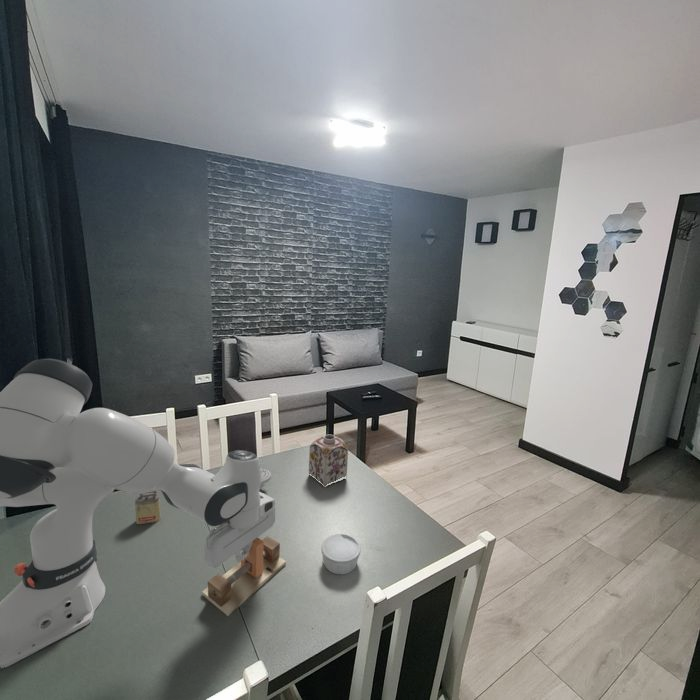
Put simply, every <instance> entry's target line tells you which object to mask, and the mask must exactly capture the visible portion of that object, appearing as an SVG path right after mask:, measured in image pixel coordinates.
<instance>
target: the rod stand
mask: <svg viewBox="0 0 700 700" xmlns="http://www.w3.org/2000/svg"><path fill="white" fill-rule="evenodd" d="M262 541H264V548H263V573H262V574H261V575H259V576H258V577H257V578H255V577H254V576H252V575H251V574H249V573H248V572H247V571H248V570H249V569H251V568H252V563H250V562H249V561H248V562H247V563H246V564H245V565H243V566H242V567H241V562H240V563H239V562H237V564H235V565H234V566H233V567H231V569H229V570H228V571H226V572H225V573H224V574H223V575H221V573H216V574H215V575H214V576H212V577H211V578H210V579H209V580H208V581H207V587H206V588H205V589H203V590H201V595H202V596H203V597H204V598H206V600H208V602H210V603H211V604H213V606H215V607H216V608H217V609H218V610H220V611H221V612H222V613H224V614H225V616H227V617H229V616H230V615H231V614H232V613H234V612H235V610H237V609H238V608H239V607H240V606H241V605H242V604H244V603H245V602H246V601H247V600H248V599H249V598H250V597H251V596H253V594H254V593H256V592H257V591H258V590H259V589H261V587H263V586H264V585H265V584H266V583H267V582H268V581H269V580H270V579H271V578H272V577H273V576H274V575H276V574H277V573H278V572H279V571H280V570H281V569H282V568H283V567H284V566H286V564H287V561H286V560H285V559H283V558H282V557H281V555H280V550H281V549H280V548H281V544H280V543H279V542H278V541H277V540H275V539H274V538H271V537H270V536H268V535H266V536H265V537H264V538H263V539H262Z"/></svg>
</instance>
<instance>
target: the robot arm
mask: <svg viewBox="0 0 700 700" xmlns="http://www.w3.org/2000/svg"><path fill="white" fill-rule="evenodd" d="M92 389H93V382H92V380H91V379H90V376H88V374H87V373H86V372H85V371H84V370H82V369H81V368H79V367H77V366H76V365H74V364H72V363H69V362H67V361H64V360H60V359H57V358H56V359H55V358H39V359H35V360H32V361H31V362H29V363H27V364H26V365H25V366H23V367H22V368H21V369H20V370H18V371H17V373H15V374H14V376H13V380H11V381H10V382H9V383H8V384H7V385H6V386H5V387H4V388H3V389H2V390H1V391H0V507H10V508H12V507H13V508H19V507H20V508H21V507H30V506H41V505H55V507H56V508H55V509H53V510H51V511H50V512H48V513H46V514H45V515H44V516H42V517H41V518H40V519H38V520H37V522H36V523H35V524H34V525H33V527H32V529H31V531H30V534H29V540H30V548H31V550H30V551H31V555H32V558H31V559H32V560H31V562H30V564H29V565H28V566H27V564H26V563H24V562H20V563H18V564H17V565H16V566H15V567H14V569H13V571H14V572H15V574H16V575H17V577H22V580H21V581H20V582H19V583H18V584H17V586H15V587H14V588H13V589H12V590H11V591H10V592H9V593H8V594H7V595H6V596H5V597H4V598H3V599H2V600H1V601H0V667H1V668H0V669H5V668H8V667H10V666H11V665H14V664H16V663H18V662H19V661H21V660H22V659H25V658H27V657H29V656H31V655H33V654H35V653H36V652H38V651H40V650H41V649H42V650H43V649H44V648H46V647H47V646H49V645H52V644H54V643H56V642H57V641H59V640H61V639H63V638H65V637H66V636H69V635H71V634H72V633H75V632H76V631H78V630H80V629H82V628H84V627H85V626H87V625H90V623H91V622H92V620H93V618H94V616H95V615H94V614H95V612H96V610H97V608H98V607H99V605H100V604H101V603H102V601H103V600H104V597H105V594H106V589H107V588H106V585H105V583H104V581H103V580H102V578H101V576H100V573H99V569H98V566H97V561H98V550H97V545H96V541H95V539H94V537H93V536H94V535H93V516H94V513H95V510H96V508H97V507H98V505H99V504H100V503H101V502H102V501H103V500H104V499H105V498H106V497H108V496H110V495H111V494H112V493H113V492H114V491H115V490H117V491H121V492H125V493H130V494H138V495H140V494H143V495H144V494H145V493H146V492H152V490H153V491H154V490H155V489H157V490H160V492H161V493H162V495H163V497H164V499H165V500H166V502H167V503H168V504H169V505H170V506H171V507H174V508H177V509H179V510H181V511H183V512H184V513H187V514H188V515H190V516H192V517H193V518H195V519H197V520H198V521H200V522H202V523H204V524H205V525H208V526H210V527H214V528H213V529H211V530H210V533H209V534H208V536H207V537H206V539H205V548H204V562H205V563H206V564H207V565H208V566H210V567H212V568H218V567H220V565H222V564H223V563H224V562H226V561H228V560H229V559H230V558H231V557H234V555H235V560H236V561H237V563H240V562H242V561H243V560H244V559H245V558H247V557H248V556H249V550H250V548H251V546H252V543H253V540H255V539H256V538H259V537H260V536H261V535H263V534H264V533H265V532H267V531H268V530H270V529H272V528H273V526H274V525H275V522H276V508H275V506H276V500H275V498H273V497H271V496H269V494H266V493H263V492H261V491H259V489H260V485H261V469H262V468H261V463H260V462H261V461H260V459H259V457H258V454H257V455H256V454H255V453H254V452H251V451H248V450H243V449H237V450H233V451H229V452H228V453H227V455H226V458H225V462H224V463H223V464H222V466H221V468H220V470H218V472H217V473H215V474H214V473H211V472H209V471H207V470H206V469H204V468H202V467H200V466H198V465H197V464H194V463H183V464H181V463H177V462H176V461H175V449H174V447H173V446H172V444H170V442H169V441H168V440H167V439H166V438H165V437H164V436H163V435H161V434H160V433H159V432H158V431H156V430H155V429H153V428H151V427H150V426H148V425H147V424H145V423H143V422H141V421H140V420H137V419H135V418H133V417H130V416H129V415H127V414H124V413H121V412H119V411H116V410H113V409H110V408H106V407H93V408H90V409H86V410H84V411H82V409H83V406H84V405H85V404H87V402H88V400H89V398H90V396H91V392H92ZM242 548H243V549H242ZM4 667H5V668H4Z"/></svg>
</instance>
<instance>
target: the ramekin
mask: <svg viewBox="0 0 700 700" xmlns="http://www.w3.org/2000/svg"><path fill="white" fill-rule="evenodd" d="M358 541H359V540H357V539H356V538H355V537H353V536H351V535H349V534H344V533H335V534H331V535H329V536H327V537H326V538H324V540H323V541H322V544H321V554H322V561H323V565H324V566H325V568H326V570H328V571H329V572H330V573H333V574H336V575H346V574H349V573H350V572H352V571H353V570H354V569H355V568H356V565H358V564H357V563H358V560H359V557H360V555H361V549H362V548H361V545H360V543H359V542H358Z"/></svg>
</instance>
